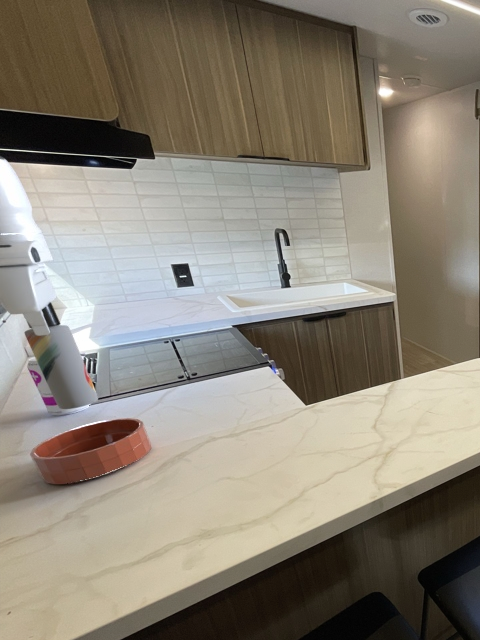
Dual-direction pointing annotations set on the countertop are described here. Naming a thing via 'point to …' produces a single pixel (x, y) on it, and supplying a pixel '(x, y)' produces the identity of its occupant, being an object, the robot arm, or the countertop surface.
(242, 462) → the countertop surface
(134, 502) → the countertop surface
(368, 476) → the countertop surface
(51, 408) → the supplement can
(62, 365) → the lotion bottle
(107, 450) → the bowl
